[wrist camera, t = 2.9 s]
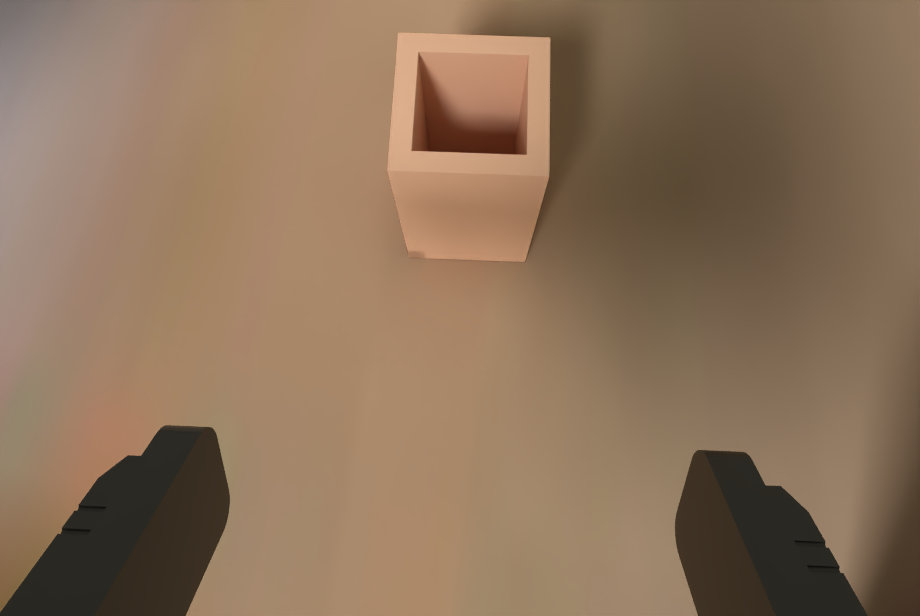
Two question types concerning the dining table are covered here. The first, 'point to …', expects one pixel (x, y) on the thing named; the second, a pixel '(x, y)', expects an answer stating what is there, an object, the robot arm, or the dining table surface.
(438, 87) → the tub
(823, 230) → the dining table surface
